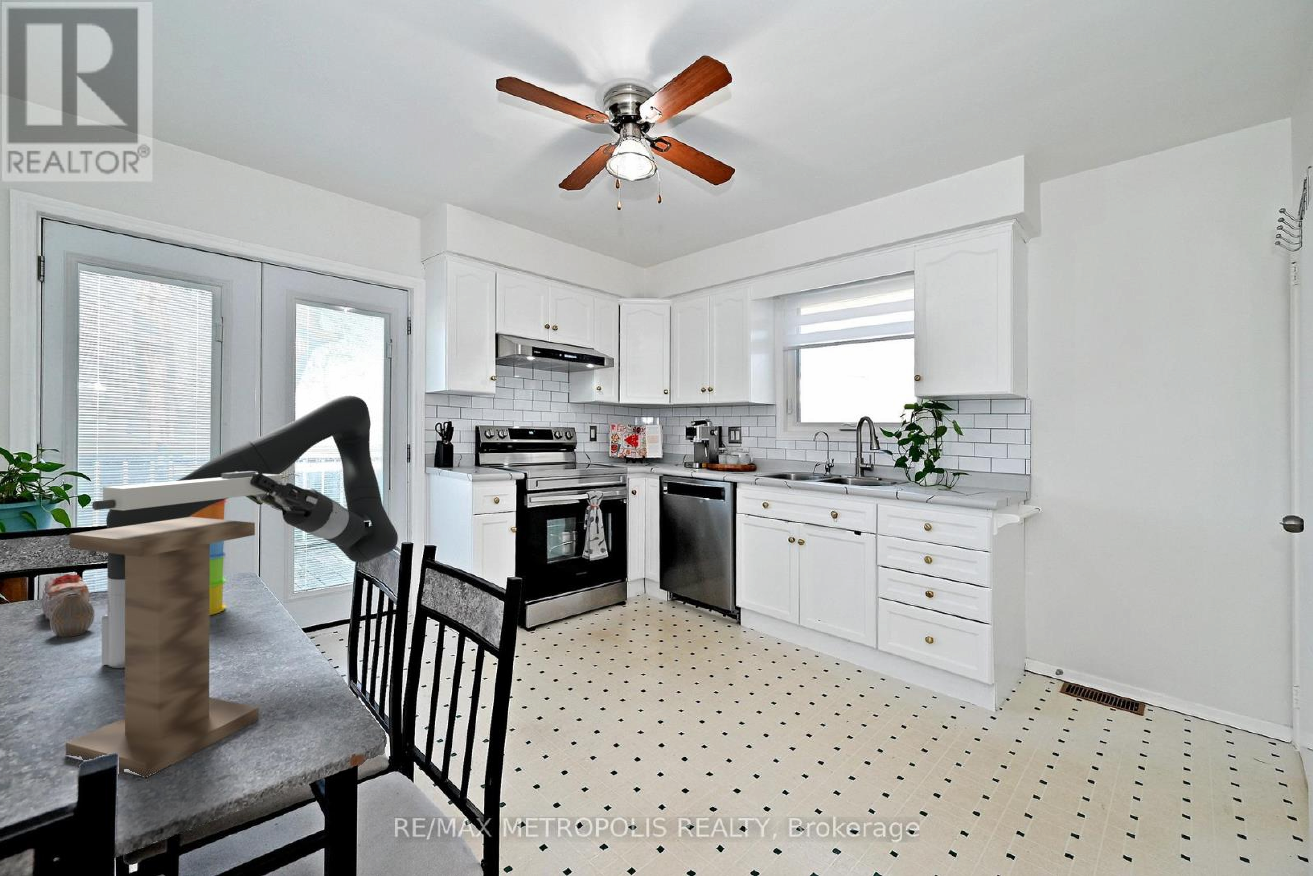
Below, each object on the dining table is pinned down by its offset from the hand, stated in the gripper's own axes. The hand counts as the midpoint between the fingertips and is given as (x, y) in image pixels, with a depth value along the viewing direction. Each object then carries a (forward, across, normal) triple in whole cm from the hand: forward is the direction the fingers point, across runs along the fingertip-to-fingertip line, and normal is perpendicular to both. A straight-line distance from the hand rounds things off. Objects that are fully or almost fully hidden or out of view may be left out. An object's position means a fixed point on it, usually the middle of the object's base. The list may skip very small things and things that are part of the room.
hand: (243, 477), depth 97 cm
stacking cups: (-45, -52, +19) cm, 72 cm away
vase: (-29, -64, +28) cm, 75 cm away
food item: (-35, -79, +25) cm, 90 cm away
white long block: (+4, 0, +6) cm, 7 cm away
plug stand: (-9, 0, +39) cm, 40 cm away
